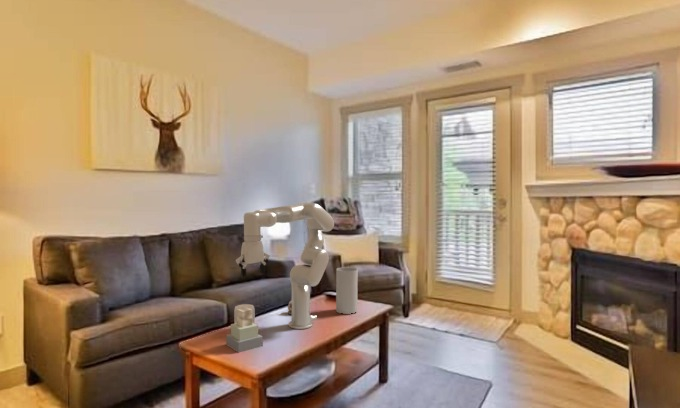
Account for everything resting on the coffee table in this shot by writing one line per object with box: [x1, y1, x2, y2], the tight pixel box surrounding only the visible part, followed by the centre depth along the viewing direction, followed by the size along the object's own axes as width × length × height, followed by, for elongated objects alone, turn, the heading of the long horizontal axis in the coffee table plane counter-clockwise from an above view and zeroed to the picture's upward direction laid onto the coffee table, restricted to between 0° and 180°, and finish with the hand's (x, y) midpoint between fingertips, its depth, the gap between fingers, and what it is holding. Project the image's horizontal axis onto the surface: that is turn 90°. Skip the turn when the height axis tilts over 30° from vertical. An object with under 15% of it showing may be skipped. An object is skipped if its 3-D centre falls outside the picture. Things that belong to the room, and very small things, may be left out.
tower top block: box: [230, 323, 259, 341], centre depth 189 cm, size 9×9×5 cm
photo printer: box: [233, 303, 256, 324], centre depth 213 cm, size 10×4×12 cm, turn 104°
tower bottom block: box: [225, 333, 264, 353], centre depth 189 cm, size 12×12×5 cm
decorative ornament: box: [287, 299, 292, 315], centre depth 240 cm, size 8×8×15 cm
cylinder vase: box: [335, 266, 359, 315], centre depth 245 cm, size 12×12×25 cm
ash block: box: [237, 307, 252, 327], centre depth 189 cm, size 5×5×7 cm
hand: (253, 275), depth 195 cm, fingers open, 9 cm apart
